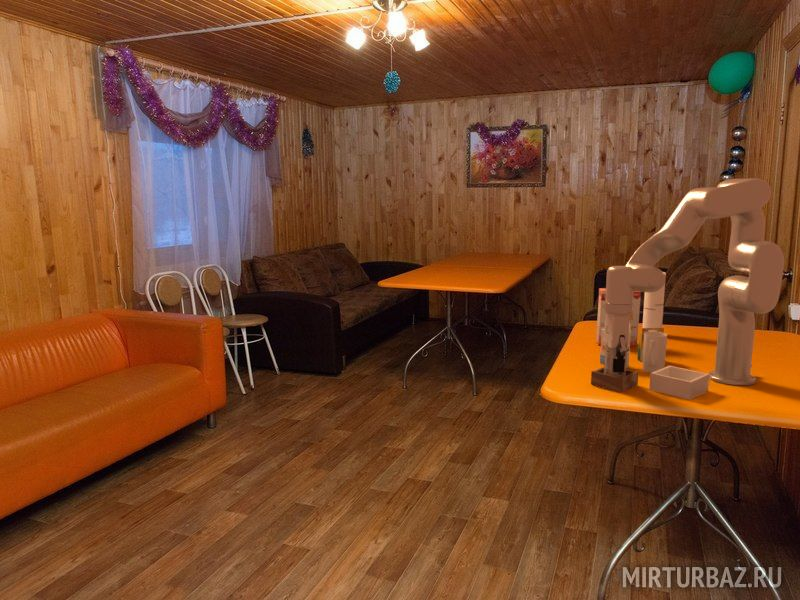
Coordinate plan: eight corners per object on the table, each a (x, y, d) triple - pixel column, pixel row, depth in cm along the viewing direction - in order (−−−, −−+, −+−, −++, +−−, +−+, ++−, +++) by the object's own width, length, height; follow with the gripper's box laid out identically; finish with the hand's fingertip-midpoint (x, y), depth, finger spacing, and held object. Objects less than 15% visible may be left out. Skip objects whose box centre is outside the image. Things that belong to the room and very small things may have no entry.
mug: (644, 366, 200) (647, 330, 198) (666, 369, 196) (669, 333, 194) (637, 374, 192) (639, 336, 190) (659, 377, 188) (662, 339, 186)
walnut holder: (608, 377, 188) (608, 365, 187) (637, 385, 181) (638, 372, 180) (590, 384, 181) (591, 371, 181) (620, 392, 174) (621, 378, 174)
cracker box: (598, 345, 227) (601, 290, 223) (595, 341, 233) (598, 287, 229) (637, 347, 225) (641, 290, 221) (634, 343, 231) (637, 288, 227)
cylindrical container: (664, 336, 240) (668, 273, 236) (646, 336, 241) (650, 273, 236) (657, 332, 248) (661, 271, 243) (639, 332, 248) (643, 271, 243)
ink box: (598, 363, 204) (601, 319, 202) (610, 361, 206) (612, 318, 204) (617, 369, 197) (620, 324, 194) (629, 367, 199) (632, 323, 196)
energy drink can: (623, 389, 177) (625, 338, 174) (601, 386, 180) (604, 336, 177) (626, 383, 182) (629, 334, 180) (605, 380, 185) (608, 332, 182)
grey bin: (668, 381, 184) (669, 365, 183) (708, 390, 175) (709, 374, 174) (649, 389, 176) (650, 373, 175) (689, 399, 168) (691, 382, 167)
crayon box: (658, 359, 208) (660, 326, 206) (662, 361, 205) (664, 328, 203) (636, 359, 208) (639, 326, 206) (640, 361, 205) (642, 328, 203)
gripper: (597, 303, 186) (594, 360, 189) (613, 314, 169) (609, 377, 172) (623, 303, 185) (619, 360, 188) (641, 314, 168) (637, 377, 171)
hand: (615, 368), depth 180 cm, fingers closed on energy drink can, 6 cm apart
